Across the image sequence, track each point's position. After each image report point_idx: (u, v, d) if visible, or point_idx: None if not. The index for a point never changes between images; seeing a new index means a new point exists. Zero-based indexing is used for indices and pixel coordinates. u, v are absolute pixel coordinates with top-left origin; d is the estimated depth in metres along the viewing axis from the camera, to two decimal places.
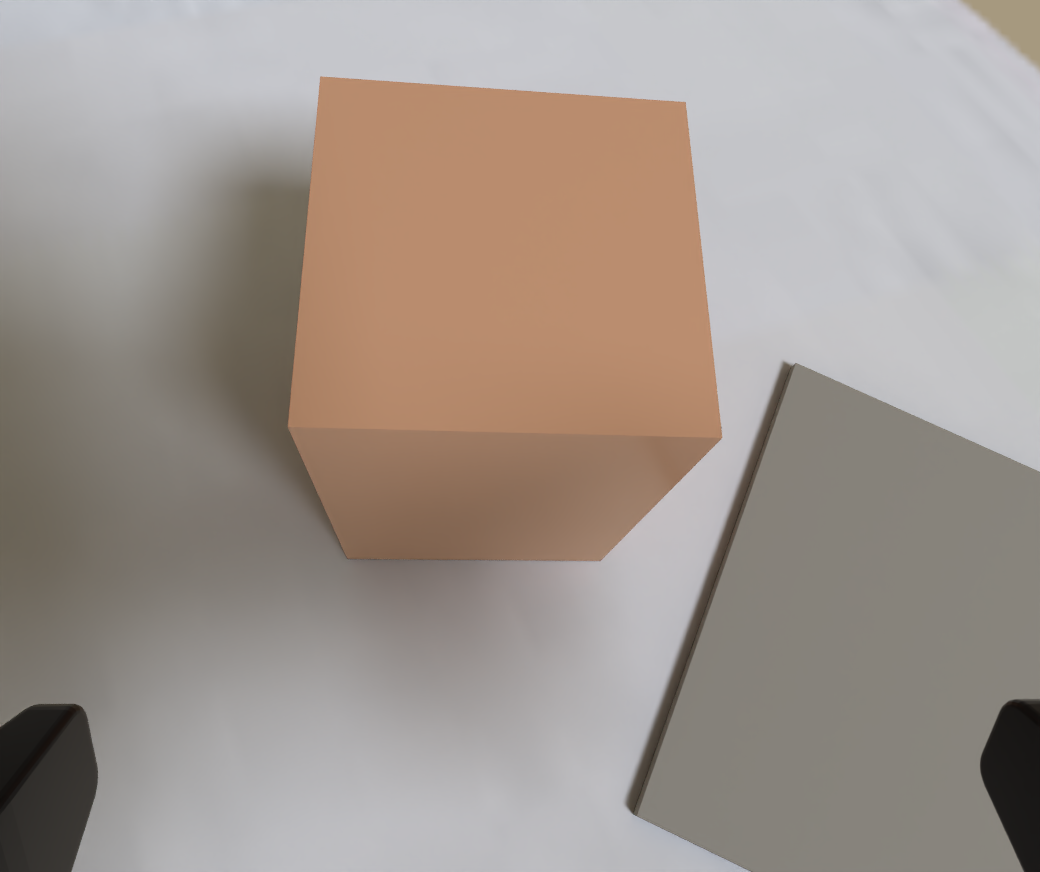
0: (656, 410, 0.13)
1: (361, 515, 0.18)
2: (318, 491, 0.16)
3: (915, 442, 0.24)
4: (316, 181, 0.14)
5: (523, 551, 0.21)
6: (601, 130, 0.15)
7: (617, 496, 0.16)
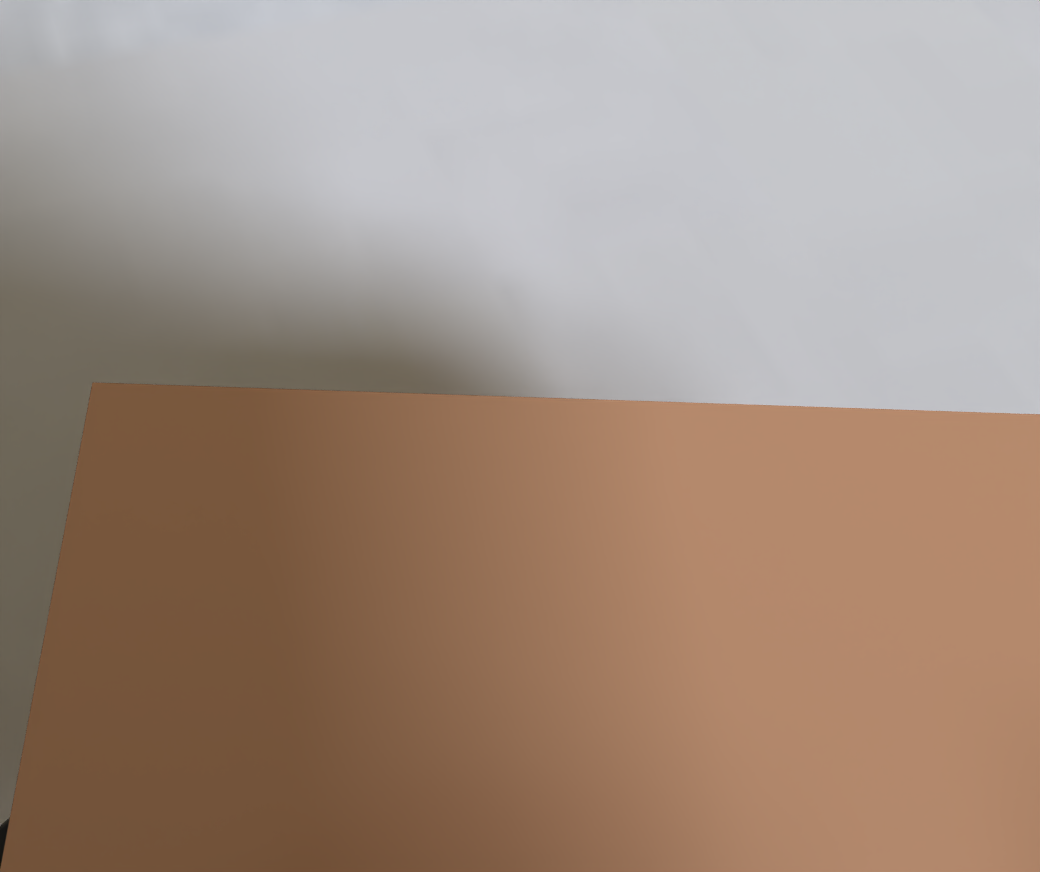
0: None
1: None
2: None
3: None
4: (34, 795, 0.04)
5: None
6: (912, 525, 0.05)
7: None
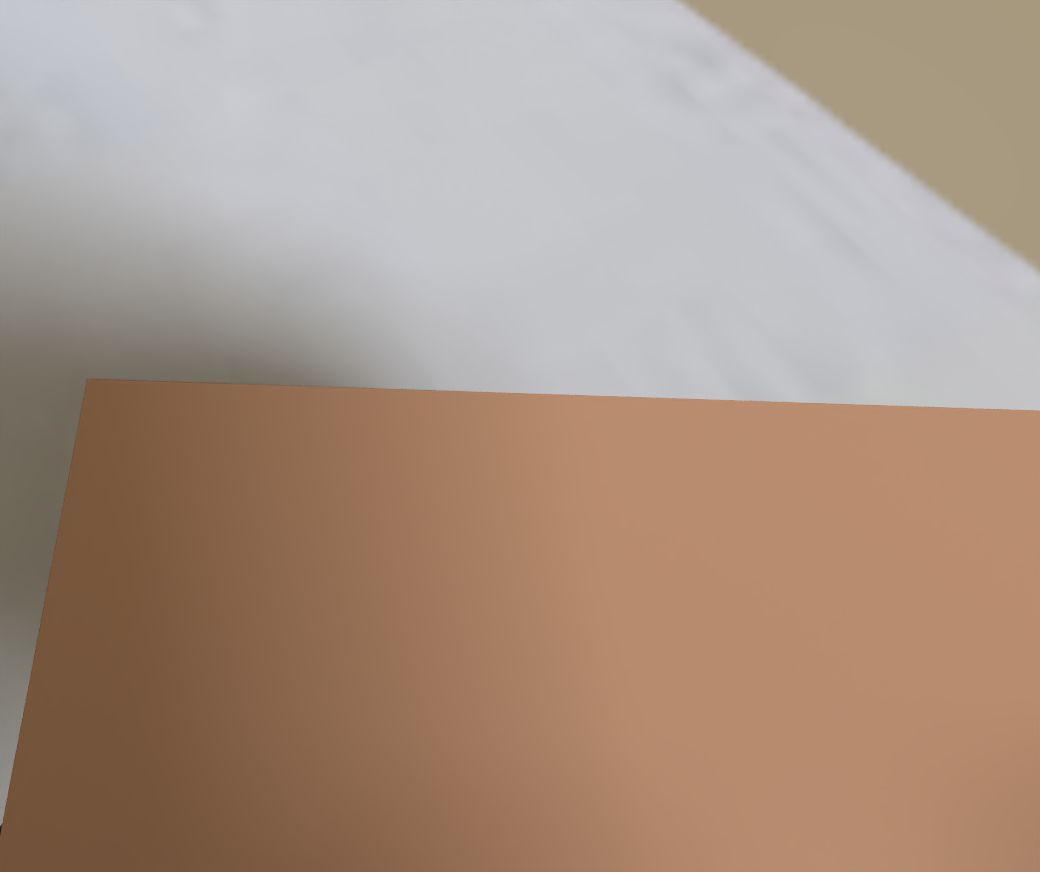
0: None
1: None
2: None
3: None
4: (28, 790, 0.04)
5: None
6: (907, 521, 0.05)
7: None
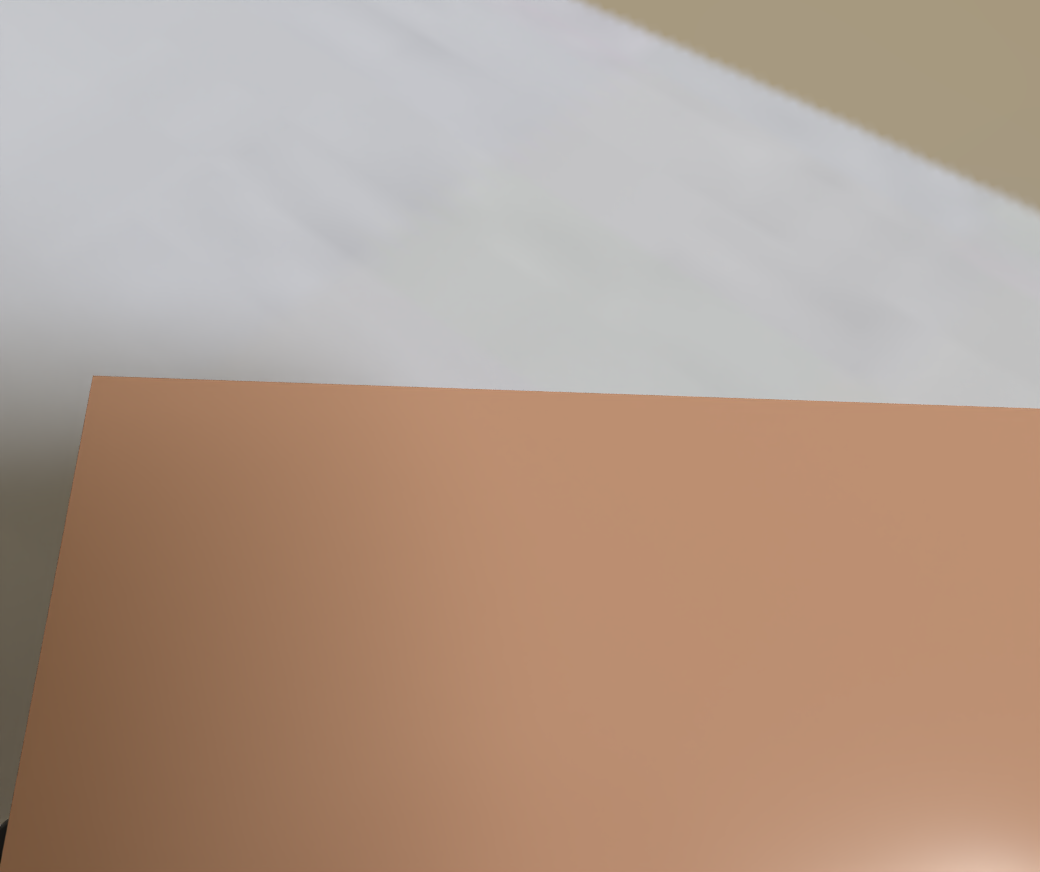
0: None
1: None
2: None
3: None
4: (34, 787, 0.04)
5: None
6: (912, 519, 0.05)
7: None
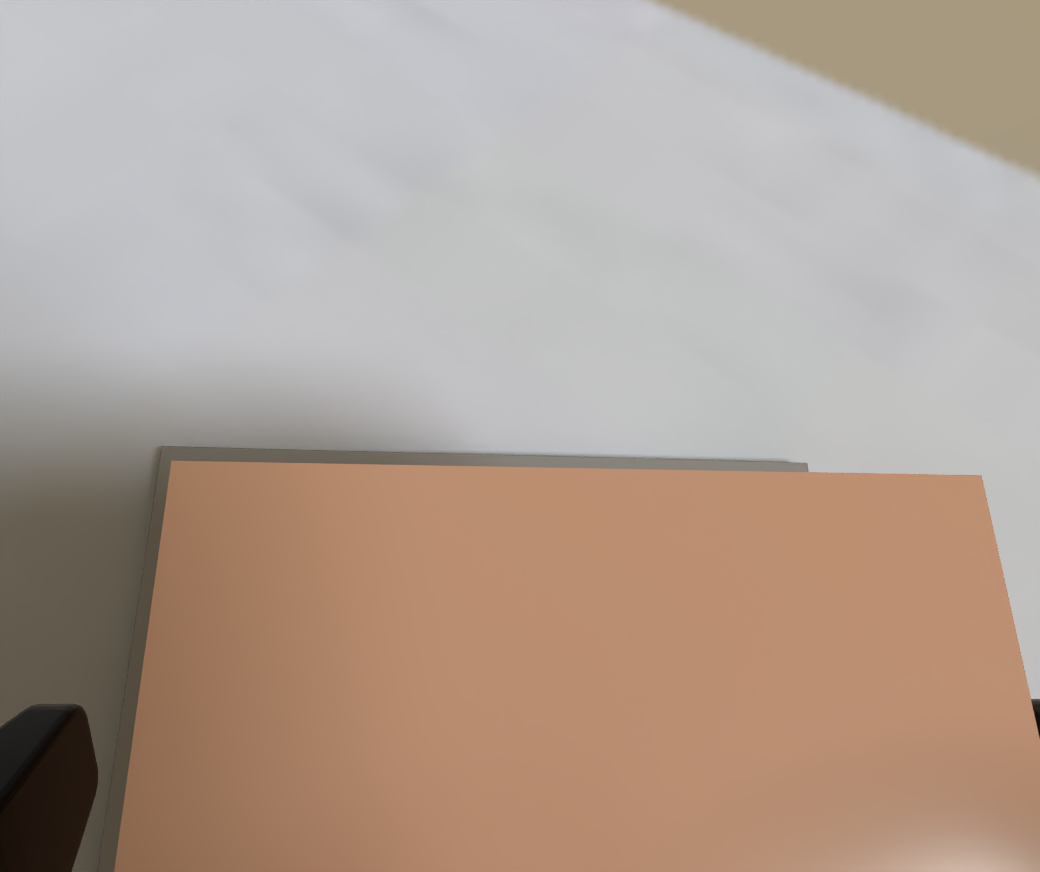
0: None
1: None
2: None
3: None
4: (141, 779, 0.06)
5: None
6: (811, 565, 0.07)
7: None
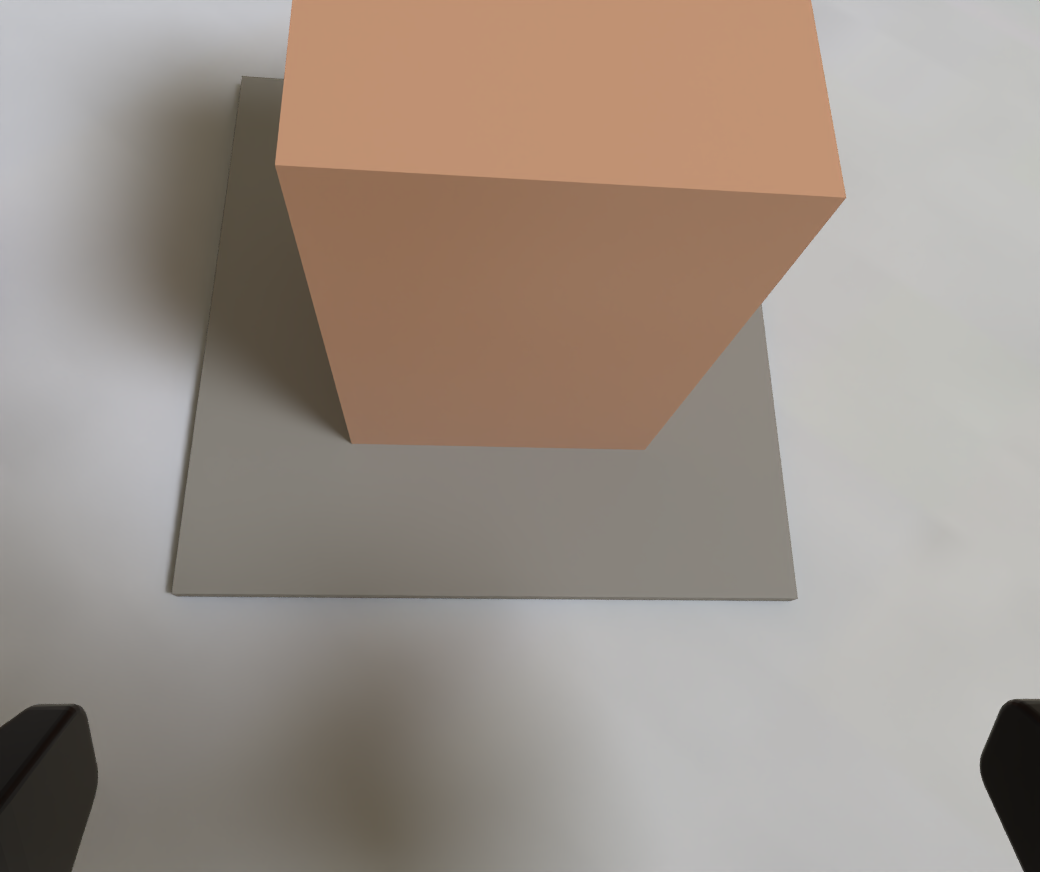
0: (759, 162, 0.10)
1: (369, 360, 0.14)
2: (317, 310, 0.13)
3: None
4: None
5: (557, 431, 0.18)
6: None
7: (686, 325, 0.13)
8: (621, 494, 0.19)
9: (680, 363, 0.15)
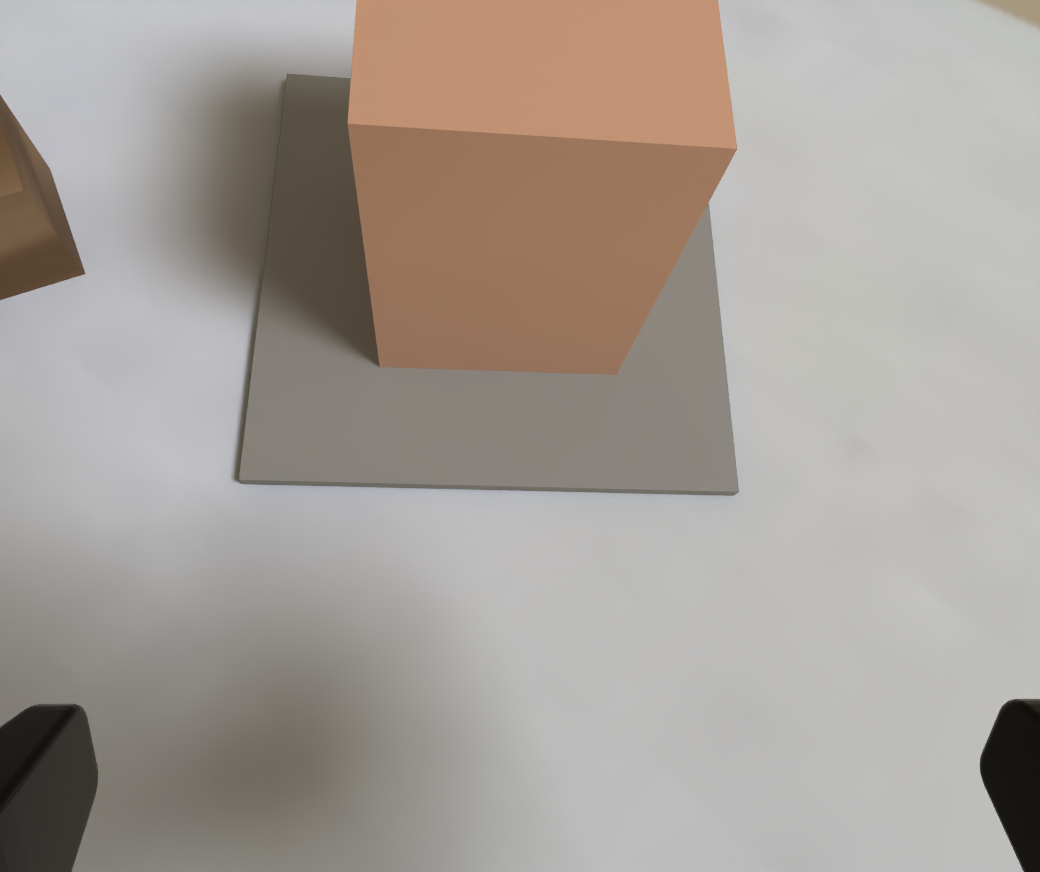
0: (677, 124, 0.15)
1: (399, 285, 0.19)
2: (364, 239, 0.17)
3: None
4: None
5: (545, 355, 0.23)
6: None
7: (637, 253, 0.18)
8: (596, 409, 0.24)
9: (637, 288, 0.19)
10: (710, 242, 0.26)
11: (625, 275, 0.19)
